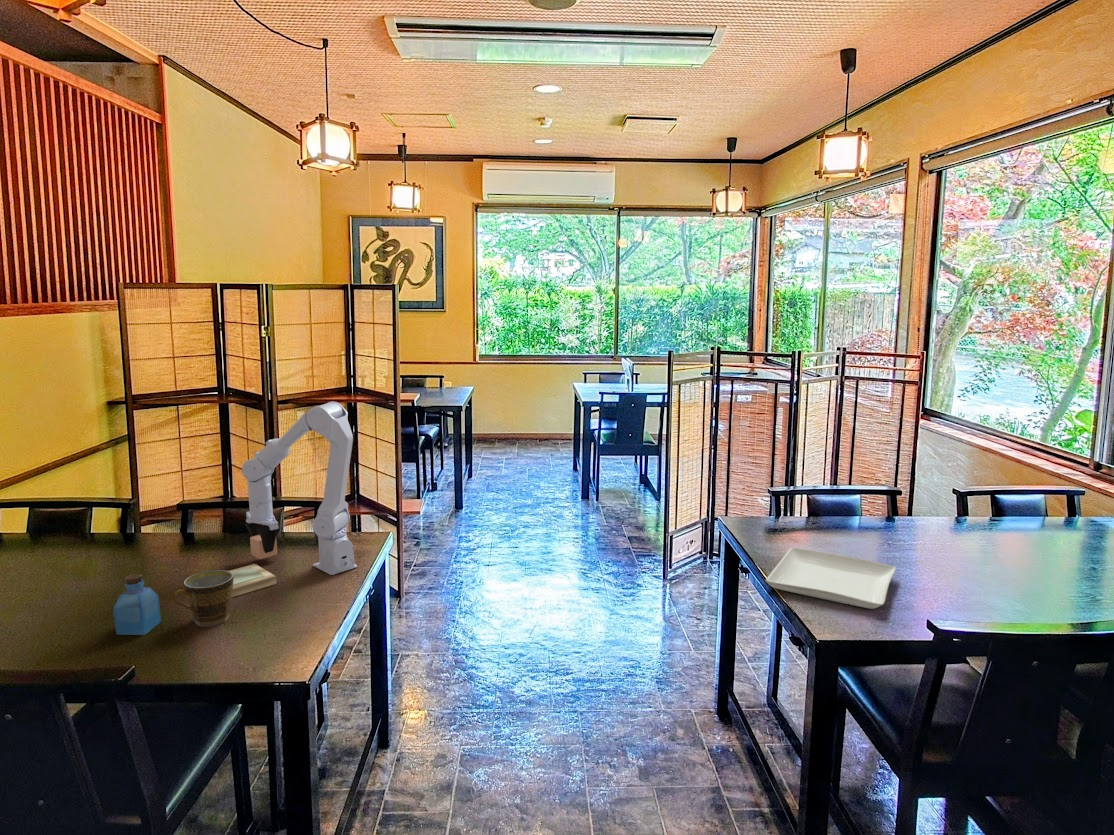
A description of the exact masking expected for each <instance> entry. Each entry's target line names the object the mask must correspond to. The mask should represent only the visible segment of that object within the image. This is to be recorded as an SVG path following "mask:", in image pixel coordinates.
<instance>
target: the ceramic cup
mask: <svg viewBox="0 0 1114 835" xmlns="http://www.w3.org/2000/svg"><path fill="white" fill-rule="evenodd" d="M229 571H230V570H226V569H225V570H224V569H215V570H207V571H201V572H197V573H195V574H192V575H190V576H189V577H187V578H186V579H184V580H183V588H184V589H177V590H176V591H174V592H173V593H172V597H171V601H172V602H173V603H174V604H175V605H179V606H181V607H183V608H185V609H187V610H189V611H191V613H192V615H193V620H194V622H195V625H197V626H199V627H200V628H209V627H211V628H212V627H213V628H214V627H216V626H219V625H222V624H224V623H226V621H227V620H228V619H229V617H230V612H231V601H232V598H231V594H232V589H233V574H232V573H231V572H229ZM178 594H184V595H185V597H187V601H188V602H189V606H187V605H185V604H183V603H181V602H178V601H176V599H175V598H176V596H177V595H178Z"/></svg>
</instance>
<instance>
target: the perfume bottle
mask: <svg viewBox="0 0 1114 835" xmlns="http://www.w3.org/2000/svg"><path fill="white" fill-rule="evenodd" d="M142 577H143V574H141V573H132V574H131V573H130V574H128V575H127V576H125V581H126V582H125V583H124V586H125V589H126V590H125V591H123V593H121V594H120V595H119V597H118V598H117V601H116V603H115V604H114V606H113V615H114V616H113V617H114V625H115V632H116V635H120V636H121V635H126V636H127V635H130V636H131V635H133V636H136V635H137V636H145V635H147V634H148V633H149V632H151V630H154V629H155V628H156V627H157V625H160V623H161V622H162V620H161V618H162V617H161V610H160V609H161V608H160V598H159V597H160V596H159V595H158V594H157V593H156V592H155V591H154V590H153V589H152V588H151V587H150V586H145V587H144V585H145V583H144V582H145V581H144V579H143V578H142Z"/></svg>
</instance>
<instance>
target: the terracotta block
mask: <svg viewBox="0 0 1114 835" xmlns="http://www.w3.org/2000/svg"><path fill="white" fill-rule="evenodd" d="M249 541H250V542H249V544H250V554H251V556H253V557H255V558H257V559H258V560H263V559H265V558H270V557H273V556H276V555H278V543H277V541H278V540H277V538H276V539H275V544H274V549H273V551H272V552H268V553H265V552H264V549H263V544H262V540H261V537H260V535H256V536H252V537H251V536H250V537H249Z"/></svg>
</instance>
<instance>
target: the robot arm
mask: <svg viewBox="0 0 1114 835" xmlns="http://www.w3.org/2000/svg"><path fill="white" fill-rule="evenodd" d="M348 414H349V413H348V411H347V410H346V409H345V407H344V406H343V405H342V404H341V403H339V402H337V401H333V400H332V401H328V402H327V403H324V404H321V405H318V406H313V407H311V408H310V409H308V411H307V412H305V413H304V414H302V415H301V416H300V417H299V418H298V419H297V421H296V422H295V423H294V424H293V425H292V426H291V427H289V428H288V430H287V431H286V432H285V433H284V434H283V435H282V436H281V437H280V438H272V439H269V440H267V441H266V442H265V446H264V447H263V448H262V449H261V450H260V451H256V452H255V453H254V457H253V458H252V459H247V460H245V461H244V463H243V464H242V466H241V473H242V475H243V477H244V478H245V479H246V481H247V490H248V491H247V492H248V505H249V511H246V512H245V515H246V519H245V523H244V525H245V527H246V528H247V531H248V532H249V533H250V537H252V536H256V535H260V537H261V540H262V544H263V549H264V552H265V553H268V552H272V551H273V549H274V544H275V539H277V536H278V533H279V531H280V530H281V526H280V525H279V522H278V521H277V520H276V517H275V515H274V511H273V510H274V509H273V498H272V497H273V496H272V494H273V493H272V484H271V483H272V482H271V480H272V474H273V473H274V471H275V468H276V467H277V466H278V465H279V464H281V462H283V460H285V459H286V458H287V457H288V456H289V455H290V453H291V449H290V448H291V447H292V446H293V445H294V444H295V443H296V442H297V441H299V440H300V439H301V438H302V437H303V436H304V435H306V434H307V433H309V432H310V431H314V432H316V433H317V434H318V435H320V436H322V437H323V438H325V439H326V440H327V441H328V442H329V443H330V448H329V453H328V454H329V456H328V463H327V469H326V479H325V484H324V485H325V486H324V491H323V492H324V493H323V499H322V502H321V504H320V505H319V507H318V509H317V514H316V517H315V518H314V519H313V521H312V525H311V526H312V530H313V533H314V534H315V535H316V536H317V540H318V544H317V545H318V558H319V559H318V560H319V561H317V562H315V563H313V564H312V566H313V567H314V568H316V569H318V570H320V571H322V572H324V573H326V574H328V575H329V576H333V575H337V574H339V573H343V572H346V571H349V570H352V569H355V568H358V565H357V564H356V563H355V554H354V553H355V550H354V544H353V542H352V541H351V540H349V538H348V535H347V526H348V525H349V522H350V519H351V516H350V515H351V514H350V512H349V503H348V502H347V501H346V492H347V486H348V480H349V479H348V477H349V472H350V471H349V470H350V464H351V457H352V450H353V442H354V436H353V432H352V429H351V425H350V423H349V421H348V420H349V419H348V416H349V415H348Z"/></svg>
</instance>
